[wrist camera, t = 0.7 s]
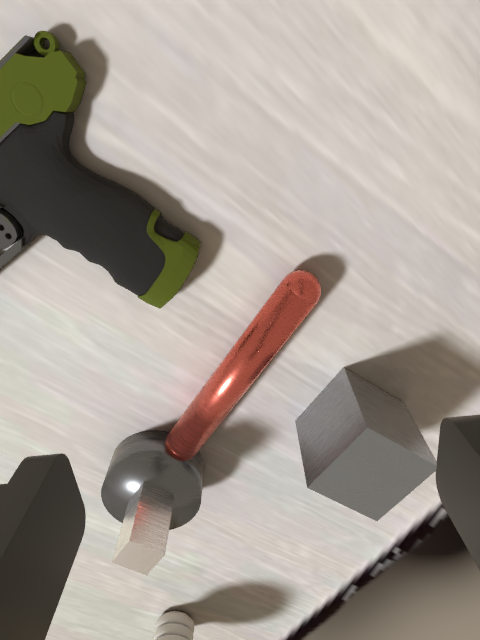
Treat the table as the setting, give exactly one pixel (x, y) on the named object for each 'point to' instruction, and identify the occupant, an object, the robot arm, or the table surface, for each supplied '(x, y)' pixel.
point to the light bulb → (174, 627)
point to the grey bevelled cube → (362, 446)
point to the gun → (75, 182)
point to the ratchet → (194, 434)
